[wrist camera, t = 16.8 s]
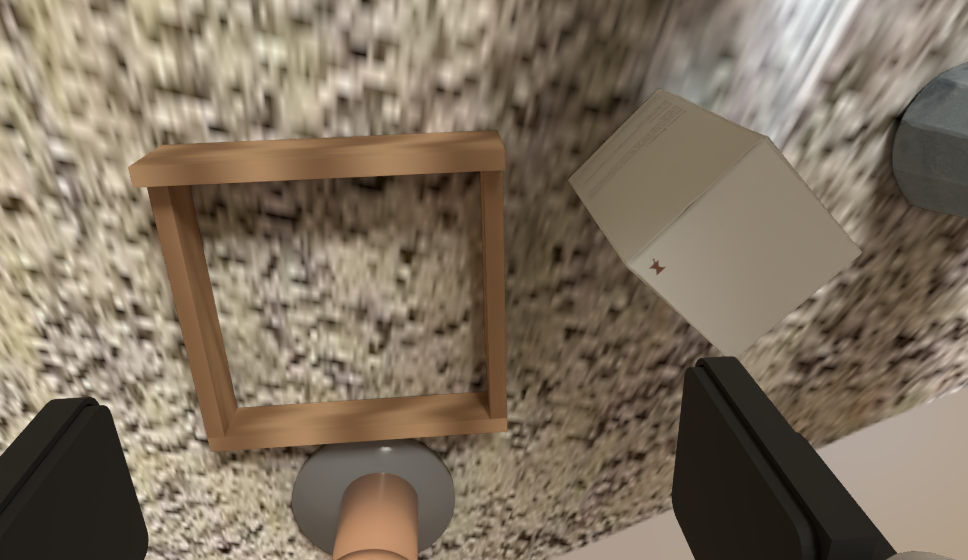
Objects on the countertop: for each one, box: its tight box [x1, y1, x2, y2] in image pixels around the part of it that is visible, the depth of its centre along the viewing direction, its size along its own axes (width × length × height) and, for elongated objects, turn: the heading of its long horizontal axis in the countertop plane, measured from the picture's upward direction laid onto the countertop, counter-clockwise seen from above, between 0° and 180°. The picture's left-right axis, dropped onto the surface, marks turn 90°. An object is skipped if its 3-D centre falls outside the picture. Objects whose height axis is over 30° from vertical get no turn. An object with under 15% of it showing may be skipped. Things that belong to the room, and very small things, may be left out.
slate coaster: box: [292, 438, 455, 555], centre depth 47 cm, size 11×11×1 cm
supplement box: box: [568, 89, 862, 358], centre depth 34 cm, size 7×7×13 cm
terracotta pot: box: [332, 473, 418, 560], centre depth 43 cm, size 6×6×8 cm
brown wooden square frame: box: [128, 130, 507, 452], centre depth 39 cm, size 18×18×4 cm
